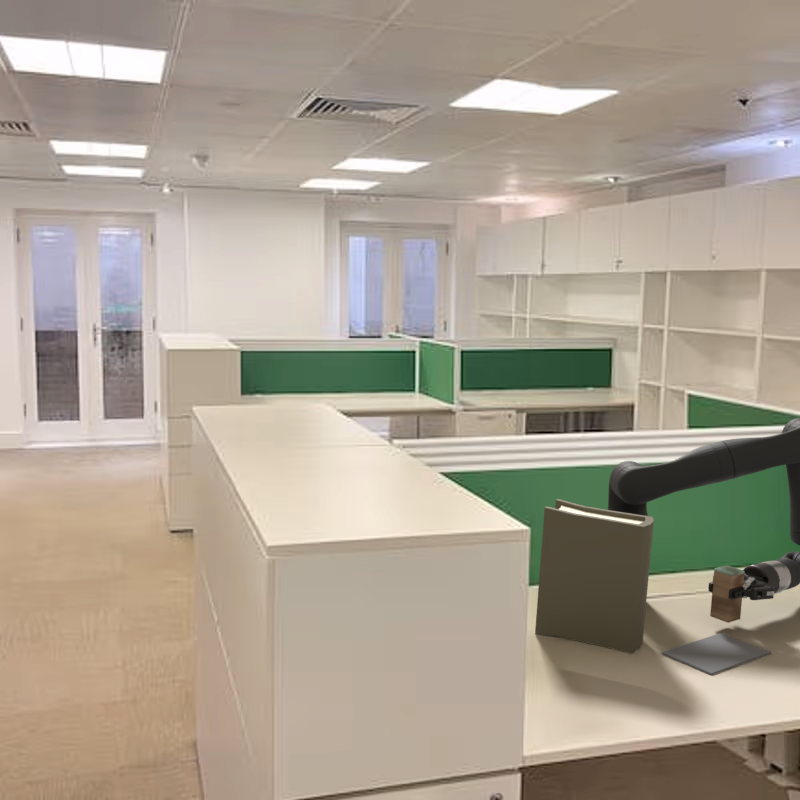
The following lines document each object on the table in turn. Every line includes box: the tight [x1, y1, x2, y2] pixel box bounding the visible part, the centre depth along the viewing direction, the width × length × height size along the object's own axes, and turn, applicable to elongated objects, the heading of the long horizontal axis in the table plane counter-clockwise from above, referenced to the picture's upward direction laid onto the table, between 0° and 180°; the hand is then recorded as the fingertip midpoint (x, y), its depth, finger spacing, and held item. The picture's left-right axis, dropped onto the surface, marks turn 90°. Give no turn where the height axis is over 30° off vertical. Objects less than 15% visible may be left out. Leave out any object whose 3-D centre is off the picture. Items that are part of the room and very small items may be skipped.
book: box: [534, 498, 655, 654], centre depth 193 cm, size 22×9×28 cm, turn 63°
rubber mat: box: [661, 632, 772, 676], centre depth 187 cm, size 20×12×1 cm, turn 125°
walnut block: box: [709, 565, 745, 624], centre depth 200 cm, size 4×4×11 cm
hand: (720, 591), depth 198 cm, fingers closed on walnut block, 4 cm apart
